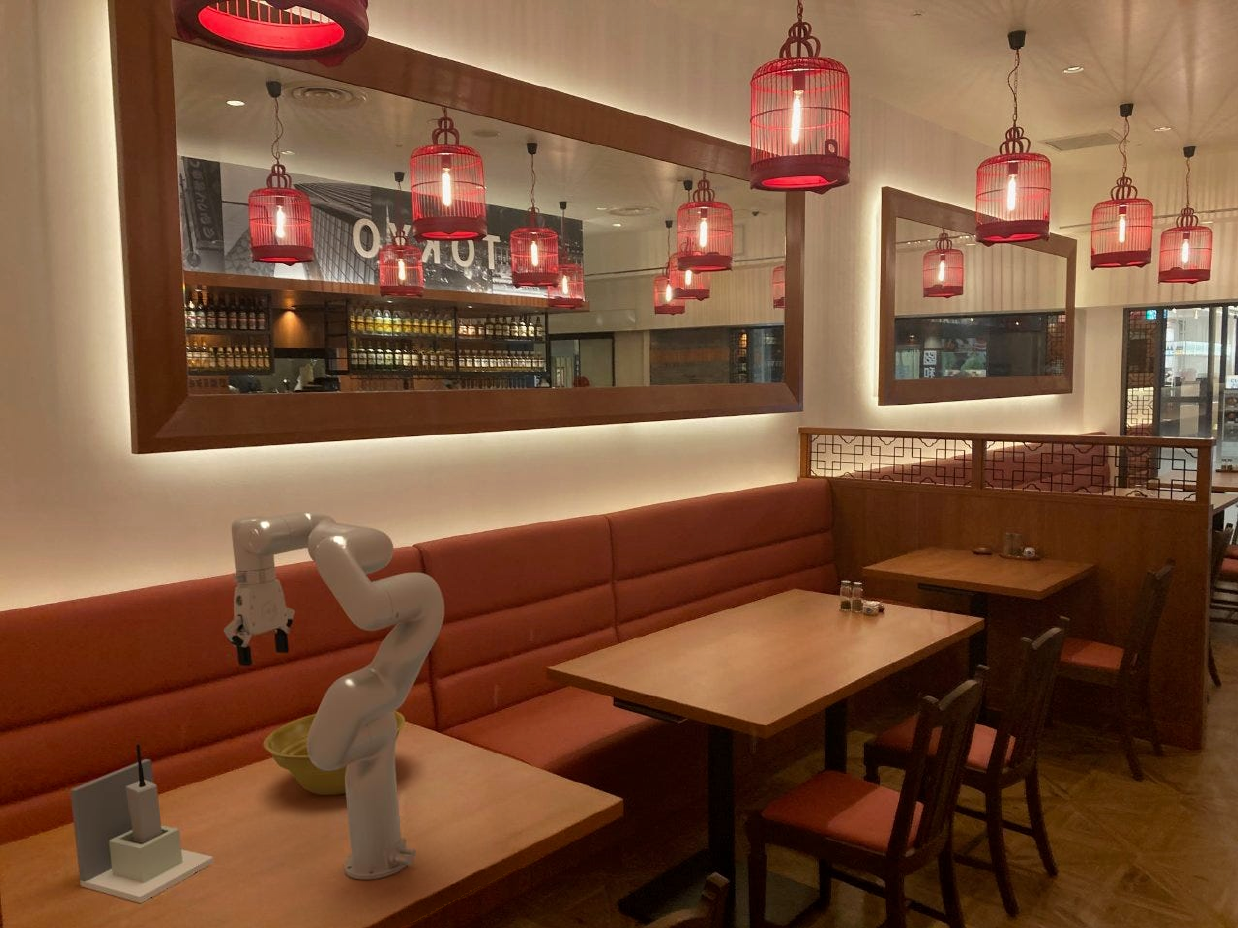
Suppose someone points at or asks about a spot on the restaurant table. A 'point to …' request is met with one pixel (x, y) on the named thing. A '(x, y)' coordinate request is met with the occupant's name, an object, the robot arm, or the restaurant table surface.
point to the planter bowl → (307, 757)
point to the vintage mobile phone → (143, 807)
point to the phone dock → (125, 842)
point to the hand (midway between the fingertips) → (264, 658)
